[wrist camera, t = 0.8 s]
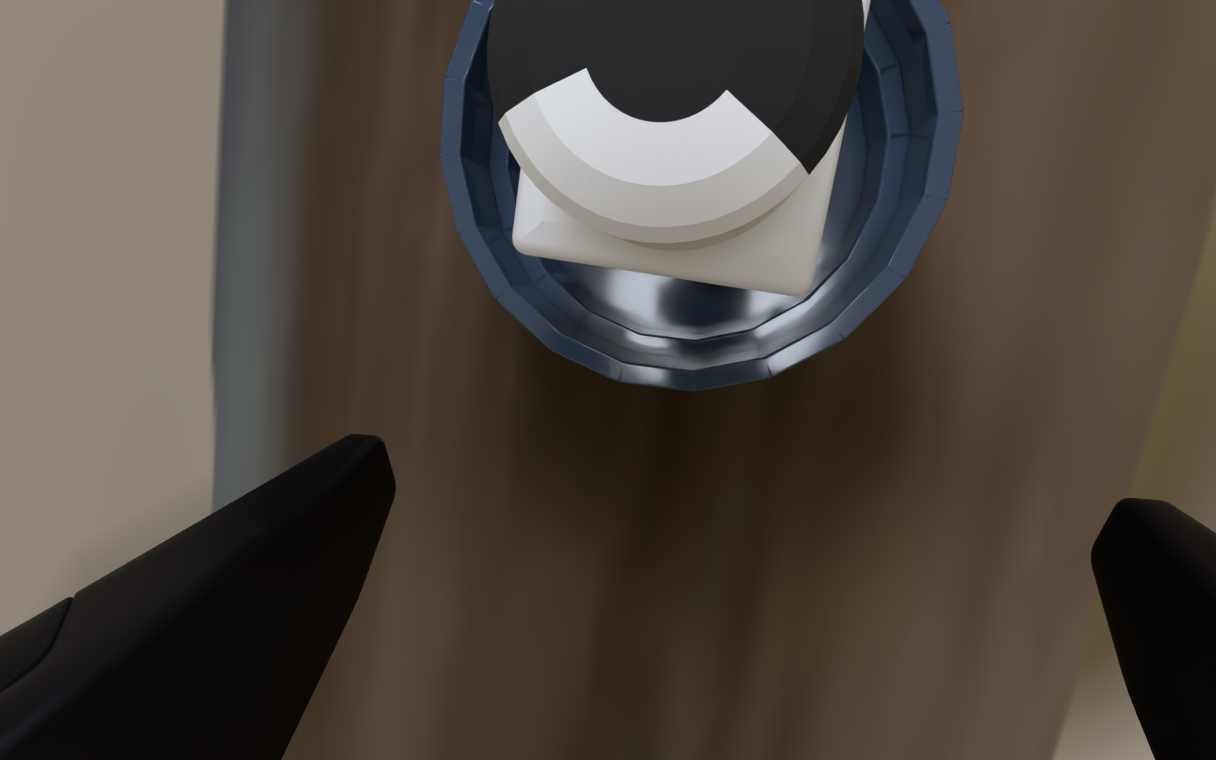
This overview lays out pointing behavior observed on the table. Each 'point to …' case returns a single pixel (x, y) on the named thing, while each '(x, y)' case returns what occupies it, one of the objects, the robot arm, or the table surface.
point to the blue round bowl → (708, 313)
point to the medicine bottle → (676, 131)
